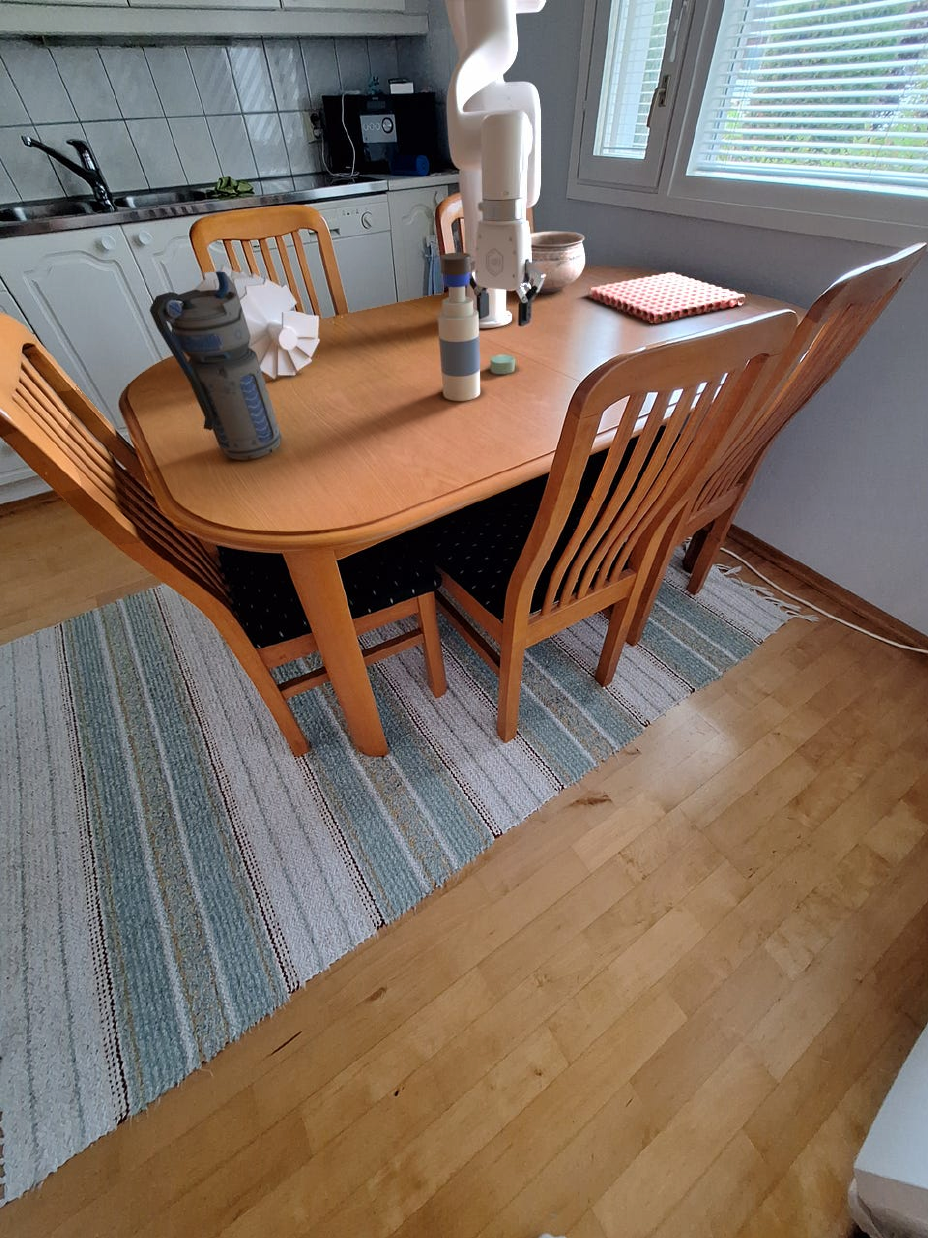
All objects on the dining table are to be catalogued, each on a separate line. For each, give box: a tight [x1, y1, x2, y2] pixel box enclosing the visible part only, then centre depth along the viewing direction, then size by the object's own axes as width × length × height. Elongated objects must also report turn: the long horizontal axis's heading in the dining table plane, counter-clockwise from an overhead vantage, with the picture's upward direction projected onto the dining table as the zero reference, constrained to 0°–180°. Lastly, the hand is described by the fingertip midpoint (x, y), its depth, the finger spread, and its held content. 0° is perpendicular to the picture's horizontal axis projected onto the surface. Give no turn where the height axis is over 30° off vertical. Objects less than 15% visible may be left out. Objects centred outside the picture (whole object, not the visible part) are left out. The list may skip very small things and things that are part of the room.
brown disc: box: [439, 252, 471, 275], centre depth 87 cm, size 5×5×2 cm
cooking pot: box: [529, 230, 586, 295], centre depth 145 cm, size 25×19×12 cm
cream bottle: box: [437, 273, 481, 402], centre depth 96 cm, size 7×7×20 cm
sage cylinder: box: [489, 353, 516, 375], centre depth 109 cm, size 5×5×2 cm
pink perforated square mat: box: [587, 272, 746, 324], centre depth 138 cm, size 28×28×2 cm
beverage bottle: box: [149, 270, 282, 461], centre depth 81 cm, size 10×13×25 cm
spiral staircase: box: [193, 264, 321, 380], centre depth 111 cm, size 18×18×25 cm
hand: (503, 320), depth 103 cm, fingers open, 9 cm apart
